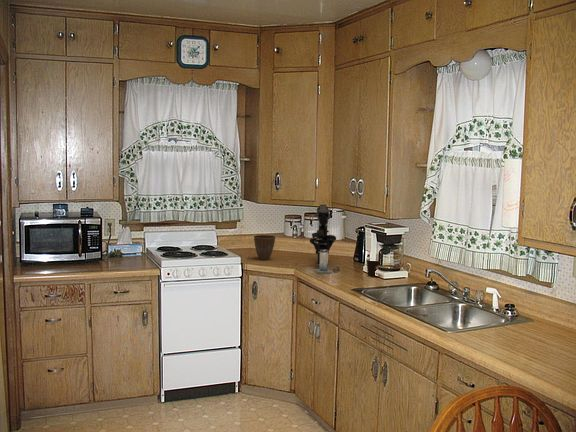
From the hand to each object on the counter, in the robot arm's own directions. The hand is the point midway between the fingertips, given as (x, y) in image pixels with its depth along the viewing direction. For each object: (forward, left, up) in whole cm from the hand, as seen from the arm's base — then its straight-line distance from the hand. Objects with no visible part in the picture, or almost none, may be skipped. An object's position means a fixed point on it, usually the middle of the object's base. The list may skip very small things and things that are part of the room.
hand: (322, 252), depth 383 cm
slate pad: (+12, -1, -10) cm, 16 cm away
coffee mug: (+24, +29, -11) cm, 39 cm away
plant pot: (-34, -34, -11) cm, 49 cm away
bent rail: (+9, +8, -10) cm, 16 cm away
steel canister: (+12, -1, -9) cm, 15 cm away
